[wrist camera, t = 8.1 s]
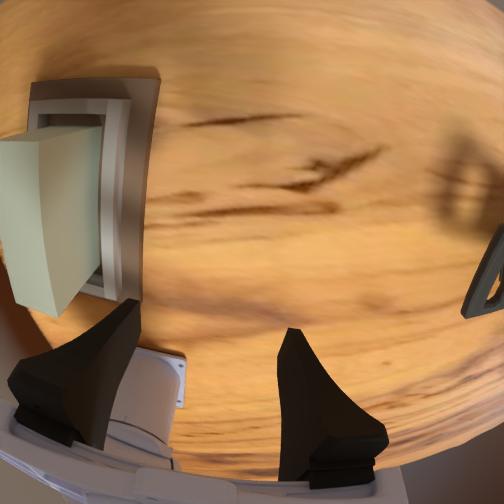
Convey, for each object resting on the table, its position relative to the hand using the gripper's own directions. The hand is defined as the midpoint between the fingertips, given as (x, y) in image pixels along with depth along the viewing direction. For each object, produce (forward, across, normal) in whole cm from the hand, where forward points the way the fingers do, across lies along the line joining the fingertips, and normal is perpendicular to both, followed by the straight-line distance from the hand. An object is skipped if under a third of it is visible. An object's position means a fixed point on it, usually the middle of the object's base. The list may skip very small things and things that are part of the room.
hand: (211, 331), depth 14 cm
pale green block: (+8, +12, -2) cm, 15 cm away
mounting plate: (+9, +12, -2) cm, 15 cm away
